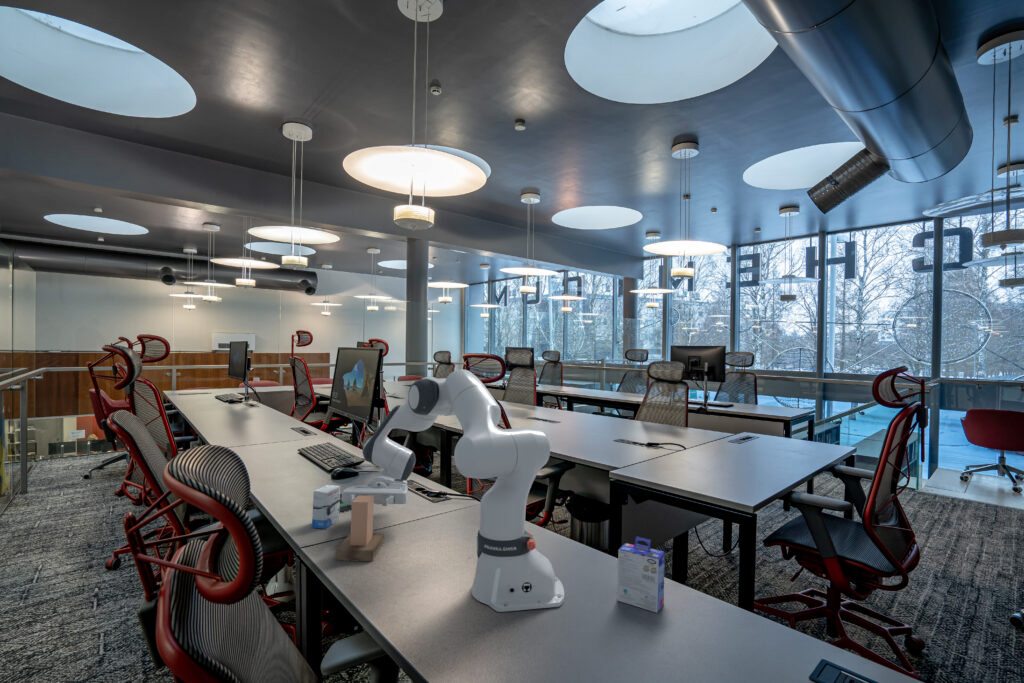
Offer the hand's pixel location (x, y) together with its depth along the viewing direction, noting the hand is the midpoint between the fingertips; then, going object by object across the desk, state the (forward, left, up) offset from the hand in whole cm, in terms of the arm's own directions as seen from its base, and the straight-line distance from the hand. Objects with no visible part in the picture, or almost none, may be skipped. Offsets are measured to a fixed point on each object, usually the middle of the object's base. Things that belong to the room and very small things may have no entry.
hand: (368, 502), depth 141 cm
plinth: (0, +7, -12) cm, 14 cm away
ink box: (+18, -14, -12) cm, 26 cm away
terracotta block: (0, +7, -9) cm, 11 cm away
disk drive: (+19, -33, -12) cm, 40 cm away
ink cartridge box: (-73, +32, -12) cm, 81 cm away
